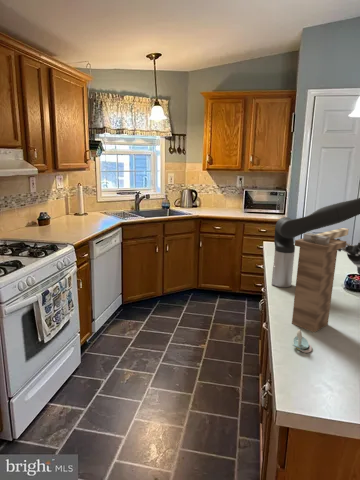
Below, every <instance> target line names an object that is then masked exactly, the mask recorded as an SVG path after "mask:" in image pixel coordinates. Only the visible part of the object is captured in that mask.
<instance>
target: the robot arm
mask: <svg viewBox="0 0 360 480" xmlns="http://www.w3.org/2000/svg"><path fill="white" fill-rule="evenodd" d="M359 215H360V197H358V198H355V199H351V200H346V201H341V202H336V203H333V204H330V205H326V206H324V207H323V206H322V207H320V208H318V209H317V210H315V211H314V212H312V213H310V214H309V215H306V216H303V217H299V218H293V219H292V218H290V217H286V216H283V217H281V218H279V219H278V220H277V221H276V223H275V227H274V240H273V242H274V255H273V256H274V257H273V266H272V274H271V275H272V277H271V286H275V287H277V288H279V287H280V288H290V287H291V286H292V283H293V281H292V280H293V273H294V272H293V271H294V261H295V252H296V246H295V241H294V238H297V237H299V236H301V235H304V234H306V233H310V232H312V231H314V230H315V231H316V230H319V229H322V228H326V227H330V226H333V225H337V224H339V223H342V222H345V221H347V220H350V219H352V218H354V217H356V216H359ZM335 239H336V240H341V239H340V238H335ZM337 252H344V253H346V255H347V258H348V260H349V261H351V263H352V264H353V265H355V266H356V271H357V274H358V275H360V242H358V243H357V244H356V245H353V244H350V243H348V242H346V247H344V248H341V249H338V250H337Z"/></svg>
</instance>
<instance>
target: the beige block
mask: <svg viewBox="0 0 360 480" xmlns="http://www.w3.org/2000/svg"><path fill="white" fill-rule="evenodd" d="M348 235H349V228H344V227H342V228H337V229H332V230H328V231H324V232H320V233H319V232H318V233H310V232H306V233H304V234H303V238H302V239H303V241H308V242H313V243H318V244H323V245H326V244H329V240H331V239H340V238H342V237H345V236H348Z"/></svg>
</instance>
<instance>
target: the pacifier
mask: <svg viewBox="0 0 360 480" xmlns="http://www.w3.org/2000/svg"><path fill="white" fill-rule="evenodd" d="M292 346H293V347H294V348H296V349H297V350H298V351H301V352H302V353H305V354H307V353H310V352H311V351H312V350H313V347H312V345H311V344H310V343H309V341H308V340H307V338H305V336H303V334H302V330H301V329H298V330H297V331H296V336H295V337H294V338H293V344H292Z"/></svg>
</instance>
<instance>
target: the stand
mask: <svg viewBox="0 0 360 480" xmlns="http://www.w3.org/2000/svg"><path fill="white" fill-rule="evenodd" d="M336 239H337V238H335V239H331V240H329V244H326V245H323V244H318V243H313V242H308V241H303V238H299V239H294V240H295V241H294V245H295V247H299V250H298V251H299V252H298V260H297V261H298V262H297V270H296V281H295V289H294V291H295V292H294V299H293V308H292V319H291V320H292V321H291V324H293V325H295V326H297V327H299V328H302V329H305V330H307V331H310V332H312V333H316V332H318V331H319V330H321V329H322V328H323V329H324V327H327V326H328V325H329V318H330V310H331V302H332V295H333V294H332V293H333V287H334V279H335V274H336V273H335V271H336V266H337V265H336V263H337V257H338V256H337V255H338V249H341V248H344V247H347V245H346V243H348V242H347V241H346V240H341V239H340V240H336Z"/></svg>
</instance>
